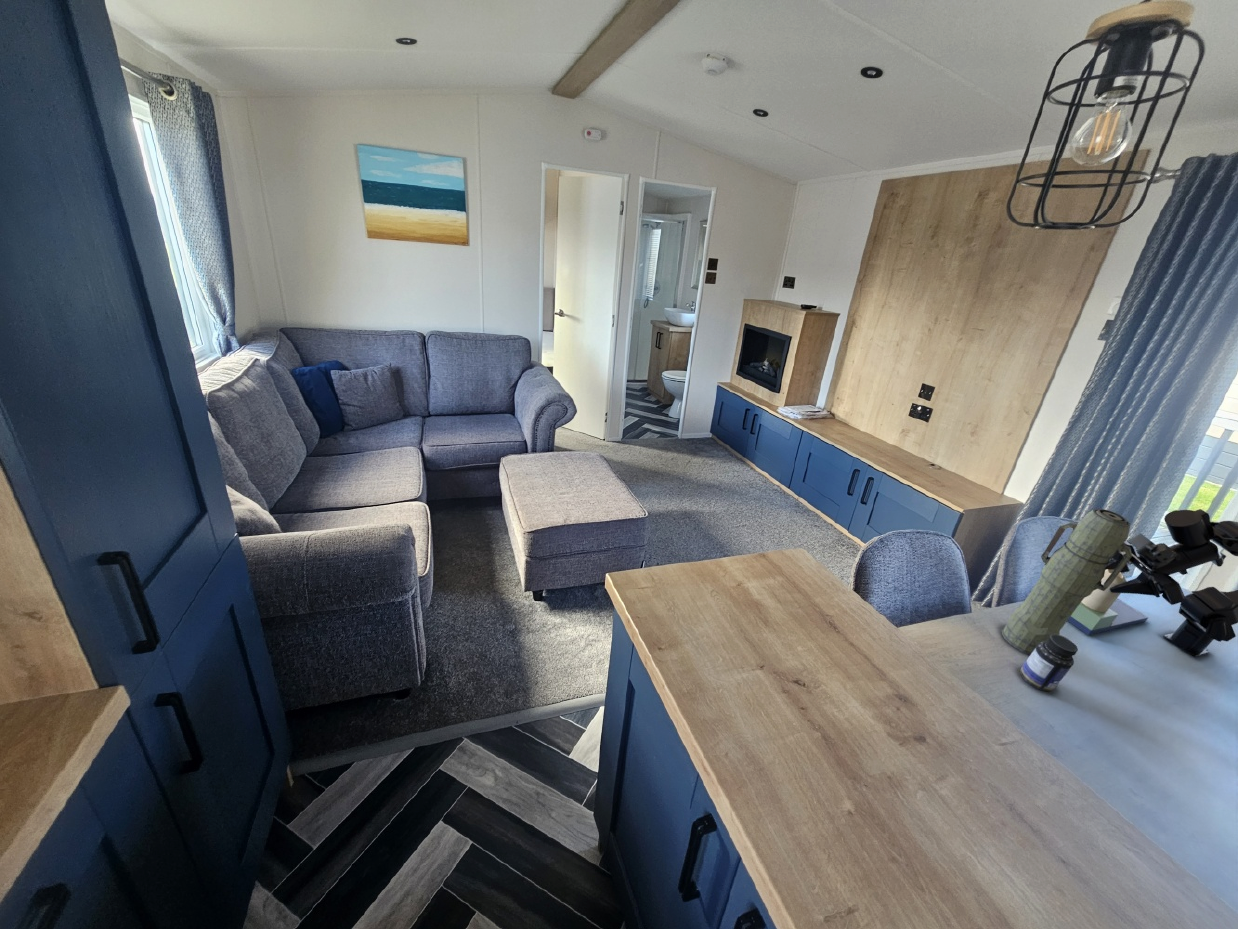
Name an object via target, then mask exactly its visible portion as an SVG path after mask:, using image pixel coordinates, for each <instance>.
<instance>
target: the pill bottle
mask: <svg viewBox="0 0 1238 929" xmlns="http://www.w3.org/2000/svg"><path fill="white" fill-rule="evenodd" d="M1078 651H1079V648H1078V646H1077V645H1076V644H1075V643H1074V642H1073V641H1072V640H1071V639H1069V638H1067V637H1066V636H1063V635H1061V634H1059V635H1057V634H1051V635H1050V636H1049V638H1048V639H1047V642H1046V641H1044V642H1040V643H1039V644H1038V645H1037V647H1036V648H1035V649H1034V651H1033V652H1032V654H1031V655H1028V657H1027V659H1026V660H1025V662H1024V663H1023V664H1022V666H1021V667H1020V669H1019V673H1020V676H1021V677H1022V679H1023V680H1024V681H1025V682H1026V683H1027V684H1029V685H1030V686H1031V687H1032V688H1035V689H1036V690H1040V691H1043V692H1053V691H1054V690H1055V689H1056V687H1057V686H1058V685H1059V684H1060V682H1061V681H1062V680H1063V679H1064V677H1065V676H1066V675H1067V673H1068V672H1069V671H1070V670H1071V669H1072V667H1073V666H1074V664H1075V659H1074V656H1075V655H1077V653H1078Z"/></svg>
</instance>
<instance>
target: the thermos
mask: <svg viewBox="0 0 1238 929" xmlns="http://www.w3.org/2000/svg"><path fill="white" fill-rule="evenodd" d="M1070 528H1071V529H1072V531H1071V532H1070V534H1069V536H1068V540H1067V541H1064V543H1063V544H1062V546H1061V547H1059V548H1058V549H1056V550H1055V551H1054V552H1053V553H1052V554H1051V552H1052V550H1053V549H1054V547H1055V546H1056V545H1057V543H1058V541H1059V540H1060V539H1061V537H1062V535H1063V534H1064V533H1065V531H1066V530H1067V529H1070ZM1130 529H1131V522H1130V521H1129V520H1127V518H1126V517H1124V516H1123V515H1121V514H1119V513H1117V512H1115V511H1111V510H1109V509H1104V508H1094V509H1092V510H1091V511H1089V512H1087V513H1086V514H1085V515H1084V517H1082V518H1081V519H1079V521H1078V522H1077V523H1076V522H1073V521H1070V522H1067V523H1063V524H1060V525H1059V527H1058V529H1057V530H1056V532H1055V533H1054V535H1053V537H1052V538H1051V540H1050V542H1049V544H1048V545H1047V547H1046V549H1045V550H1044V551H1043V553H1042V554H1041V555H1040V558H1041V560H1042V563H1044V566H1043V568H1042V569H1041V572H1040V577H1039V579H1038V580H1037V582H1036V583H1035V584H1034V586H1033V587H1032V589H1031V590H1030V592H1029V594H1027V596H1026V598H1025V599H1024V601H1023V602H1022V603H1021V605H1020V606H1018V607H1016V609H1014V610H1013V612H1011V614H1010V615H1009V617H1008V619H1007V621H1006V624H1005V626H1004V627H1003V628H1002V629H1001V635H1002V637H1003V638H1004V640H1005V641H1006V642H1007V643H1008V644H1009V645H1011V646H1012V647H1013V648H1014V649H1016V650H1017V651H1020V652H1021V653H1023V654H1026V655H1028V656H1030V655H1031V654H1032V652H1033V651H1034V649H1035V648H1036V647H1037V645H1038V644H1039V643H1040V642H1044V641H1046V642H1047V639H1048V638H1049V636H1050V635H1051V634H1057V635H1061V630H1062V628H1063V627H1064V626H1065V624H1067V622H1068V621H1067V620H1068V619H1069V618H1070V616H1071V615H1072V614H1073V612H1074V611H1075V610H1076V608H1077V607H1078V605H1079V604H1080V603H1081V601H1082V600H1083V599H1084V598H1085V597H1087V596H1089V595H1090V594H1091V593H1092V592H1093V590H1096V589H1099V590H1102V591H1105V590H1106V589H1107V588H1108V587H1109V586H1110V584H1111V583H1112V582H1113V581H1114V579H1115V578H1116V577H1117V575H1118V574H1119V573H1120V571H1121V570H1122V569H1123V568H1124V566H1125V565H1126V564H1127V562H1128V561H1129V560H1130V558H1131V556H1132V553H1131V548H1130V547H1129V546H1126V545H1125V544H1126V543H1124V542H1125V541H1128V540H1127V539H1128V537H1129V534H1130ZM1121 550H1122V551H1125V553H1126V555H1125V556H1124V557H1123V559H1122V560H1121V561H1120V563H1119V564H1118V565H1117V567H1116V568H1115V569H1114V571H1113V572H1112V573H1111V575H1110V576H1109V577H1108V579H1107V580H1106V581H1105V583H1104V585H1102V584H1101V582H1102V581H1101V580H1102V578H1103V577H1104V574H1105V569H1106V566H1107V565H1108V564H1109V560H1110V559H1111V558H1113V557H1114V556H1115V554H1116V553H1117V552H1118V551H1121ZM1050 554H1051V555H1050ZM1049 555H1050V556H1049Z"/></svg>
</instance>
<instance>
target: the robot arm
mask: <svg viewBox="0 0 1238 929" xmlns="http://www.w3.org/2000/svg"><path fill="white" fill-rule="evenodd" d="M1163 518H1164V519H1163V520H1164V523H1165V525H1166V527H1167V529H1168V532H1169V534H1170V537H1171V540H1172V541H1174V542H1175V543H1173V544H1170V545H1167V544H1166V543H1165V542H1163V543H1162V542H1161V543H1160V542H1159V543H1157V544H1156V543H1154V542H1153V541H1152V540H1150V539H1149V538H1148V537H1146V536H1145V535H1144V534H1143V533H1141V532H1139V533H1137V534H1136V535H1134V536H1133V537H1131V538H1130V539H1128V540H1126V541H1125V542H1124V543H1126V544H1125V545H1126V546H1129V547H1130V548H1131V553H1132V556H1131V558H1130V560H1129V561H1128V562H1127V564H1126V565H1125V566H1124V568H1123V569H1122V570H1121V571H1120V573H1122V574H1123V573H1124V574H1125V573H1129V572H1130V571H1131V570H1130V568H1129V566H1130V565H1133V566H1134V567H1135V568H1137V569H1138V570H1139V571H1140V572H1139V573H1140V574H1138V575H1137V576H1136V577H1135V578H1132V579H1130V580H1126V581H1127V582H1124V583H1121V584H1119V585H1116V586H1114V587H1112V588H1110V589H1109V590H1110V592H1112V593H1121V594H1130V595H1131V594H1134V595H1144V596H1153V597H1155V598H1161V597H1162V598H1163V599H1164V600H1165V601H1166V602H1167V603H1169V605H1171V606H1175V605H1177V604H1179V609H1178V614H1180V615H1181V616H1183V617H1184V618H1185V619H1184V620H1183V621H1182V623H1181V624H1180V625H1179V626H1178V628H1176V629H1175V631H1174V632H1172V633H1168V634H1164V635H1163V638H1164V639H1165V640H1167V641H1169V642H1170V643H1172V644H1173V645H1175V646H1176V647H1178V648H1180V649H1181V650H1183V651H1184V652H1186V653H1188V654H1189V655H1191V656H1192V657H1195V658H1196V657H1199V656H1204V655H1207V654H1209V653H1210V650H1209V649H1207V647H1209V645H1210V644H1212V642H1214V641H1216V642H1222V641H1223V642H1229V641H1231V640H1233V639H1234V638H1236V636H1237V635H1236V633H1235V631H1234V628H1233V626H1234V625H1237V624H1238V589H1233V590H1231V591H1222V590H1219V589H1218V588H1217V587H1215V586H1207V587H1205V588H1203V589H1199V590H1192V591H1191V593H1189V594H1186V595H1185V593H1184V591H1183V589H1182V587H1181V584H1180V583H1179V582H1178V581H1177V580H1176V579H1174V578H1173V577H1172V576H1171V575H1174V574H1177V573H1179V574H1180V575H1182V576H1184V575H1188V574H1189V573H1188V569H1192V568H1195V567H1198V566H1202V565H1204V564H1208V563H1213V565H1215V566H1217V567H1219V568H1220V567H1222V566H1223V565H1224V562H1225V559H1226V558H1227V555H1226V554H1224V553H1223V552H1221V551H1220V549H1219V548H1218V546H1219V547H1220V548H1221V549H1223V550H1224V551H1226V552H1227V553H1229V554H1230V555H1232V556H1233V557H1238V521H1234V520H1222V521H1211V516H1210V514H1209V512H1207V511H1205V510H1204V509H1202V508H1199V509H1196V510H1192V509H1179V510H1177V509H1175V510H1172V511H1170V512H1167V513H1166V515H1165V516H1164V517H1163ZM1134 548H1135V549H1134ZM1125 555H1126V553H1125V551H1122V550H1121V551H1118V552H1117V553H1116V554H1115V556H1114V557H1113V558H1111V559H1110V560H1109V564H1108V565H1107V566H1106V569H1105V570H1107V569H1109V570H1114V569H1115V568H1116V567H1117V565H1118V564H1119V563H1120V561H1121V560H1122V559H1123V557H1124V556H1125Z"/></svg>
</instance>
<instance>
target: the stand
mask: <svg viewBox="0 0 1238 929" xmlns="http://www.w3.org/2000/svg"><path fill="white" fill-rule="evenodd" d="M1148 619H1149V617H1148V616H1147V615H1145V614H1143V613H1141V612H1140V611H1139V610H1137V609H1135V608H1134V607H1132V606H1130V605H1129V604H1128V603H1126V602H1124V601H1122V599H1119V597H1118V598H1117V599H1116V600H1115V602H1114V603H1113V604H1112V605H1111V607H1110V608H1109V609H1108V610H1107V611H1106V612H1098V611H1095V610H1093V609H1091V608H1089V607H1087V606H1086V605H1084V604H1083V603H1082V602H1081V603H1080V604H1079V605H1078V607H1077V608H1076V610H1075V611H1074V612H1073V614H1072V615H1071V616H1070V618H1069V619H1068V620H1067V622H1069V623H1070V624H1072V625H1073V626H1075V627H1076V628H1077V629H1079V630H1080V631H1082V632H1083V633H1084V634H1086V635H1087V636H1090V635H1094V634H1098V633H1103V632H1107V631H1111V630H1116V629H1120V628H1124V627H1129V626H1134V625H1137V624H1143V623H1146V621H1148Z"/></svg>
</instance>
